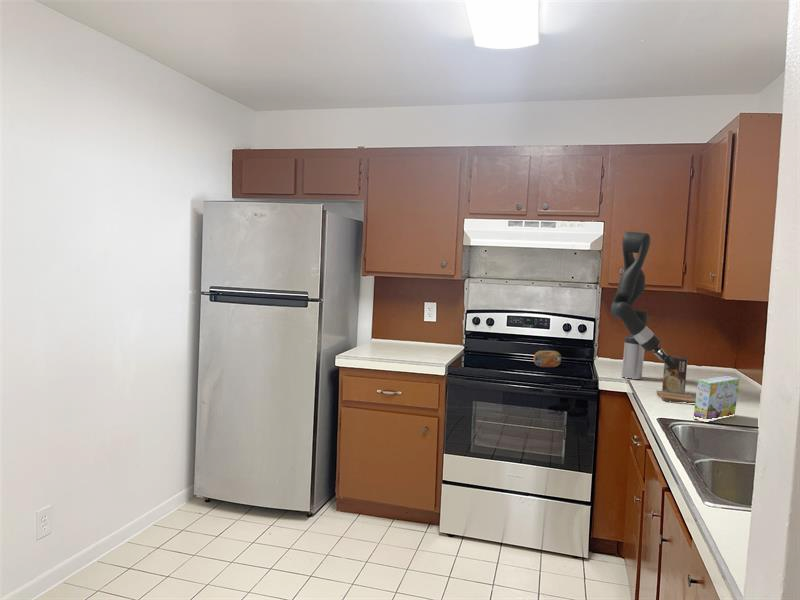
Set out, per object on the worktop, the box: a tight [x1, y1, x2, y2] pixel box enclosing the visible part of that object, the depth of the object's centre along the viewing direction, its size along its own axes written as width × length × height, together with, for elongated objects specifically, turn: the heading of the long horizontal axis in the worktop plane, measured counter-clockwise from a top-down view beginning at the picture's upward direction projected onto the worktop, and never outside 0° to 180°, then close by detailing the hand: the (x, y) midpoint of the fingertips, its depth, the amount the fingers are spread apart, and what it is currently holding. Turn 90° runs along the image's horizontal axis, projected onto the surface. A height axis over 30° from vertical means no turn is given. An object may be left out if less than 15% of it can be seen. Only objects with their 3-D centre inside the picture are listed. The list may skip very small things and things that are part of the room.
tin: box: [533, 350, 562, 368], centre depth 309 cm, size 15×3×8 cm, turn 105°
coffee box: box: [661, 354, 688, 393], centre depth 261 cm, size 9×6×16 cm
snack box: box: [693, 375, 740, 419], centre depth 223 cm, size 21×6×15 cm, turn 126°
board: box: [655, 390, 696, 403], centre depth 251 cm, size 14×13×2 cm
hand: (672, 366), depth 262 cm, fingers closed on coffee box, 7 cm apart
